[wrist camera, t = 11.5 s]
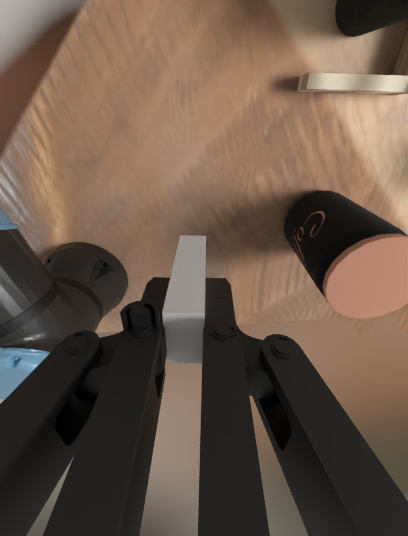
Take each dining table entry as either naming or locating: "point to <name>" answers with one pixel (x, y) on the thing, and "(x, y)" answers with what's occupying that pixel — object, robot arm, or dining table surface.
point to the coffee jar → (350, 254)
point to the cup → (369, 15)
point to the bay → (361, 80)
